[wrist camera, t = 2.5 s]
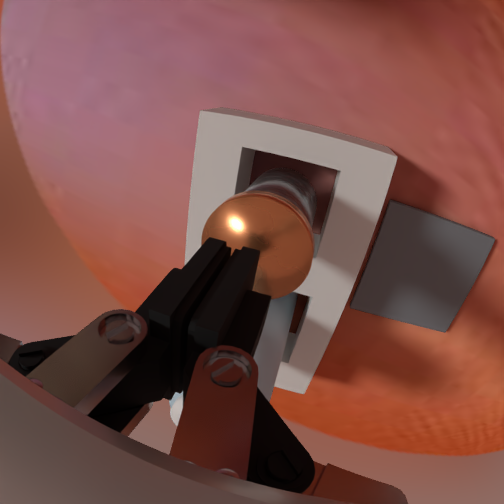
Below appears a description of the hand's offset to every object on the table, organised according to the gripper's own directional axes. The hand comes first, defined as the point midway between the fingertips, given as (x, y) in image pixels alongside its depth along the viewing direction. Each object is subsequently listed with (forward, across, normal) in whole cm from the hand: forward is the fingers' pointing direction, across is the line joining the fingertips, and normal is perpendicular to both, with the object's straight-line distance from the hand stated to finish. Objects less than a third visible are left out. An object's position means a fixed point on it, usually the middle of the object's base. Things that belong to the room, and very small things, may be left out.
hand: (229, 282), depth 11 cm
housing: (+10, 0, +4) cm, 11 cm away
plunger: (+8, 0, 0) cm, 8 cm away
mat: (+10, -10, +2) cm, 15 cm away
